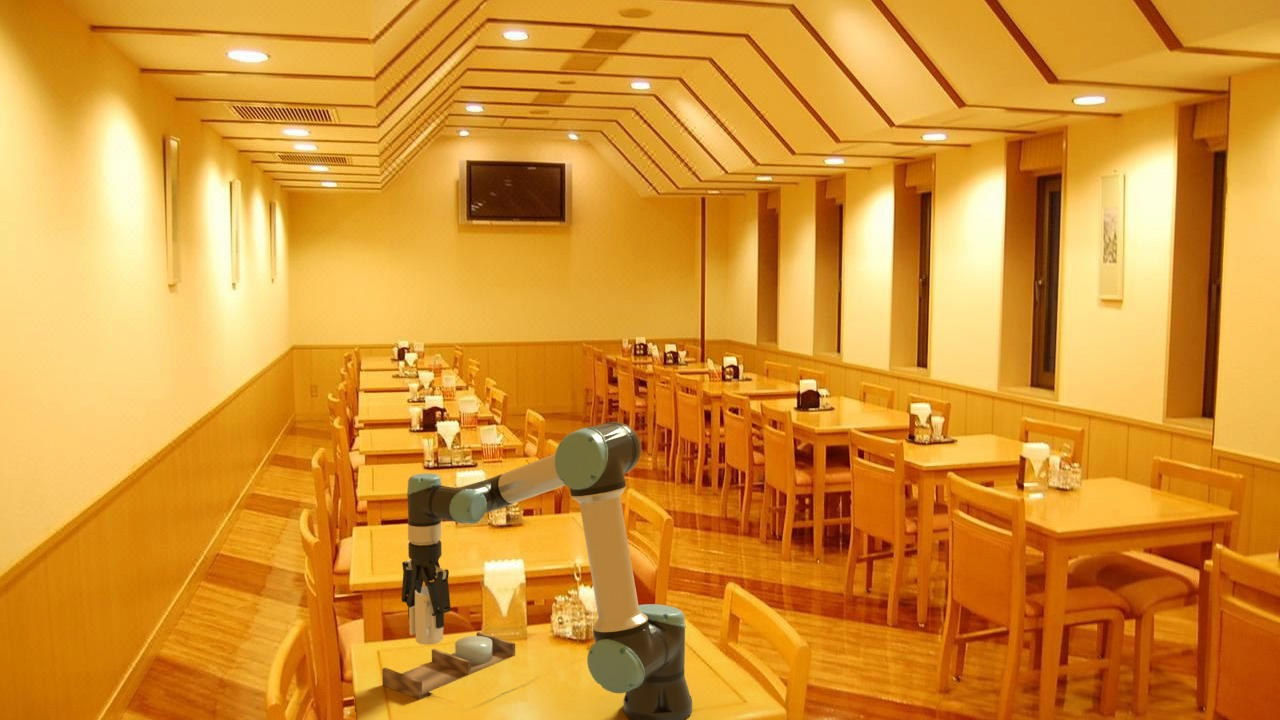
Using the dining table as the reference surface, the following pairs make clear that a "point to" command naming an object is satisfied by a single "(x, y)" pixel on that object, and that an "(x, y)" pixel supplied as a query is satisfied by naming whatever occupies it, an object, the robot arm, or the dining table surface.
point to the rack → (443, 670)
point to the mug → (423, 617)
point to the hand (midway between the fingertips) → (426, 636)
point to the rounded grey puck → (474, 649)
